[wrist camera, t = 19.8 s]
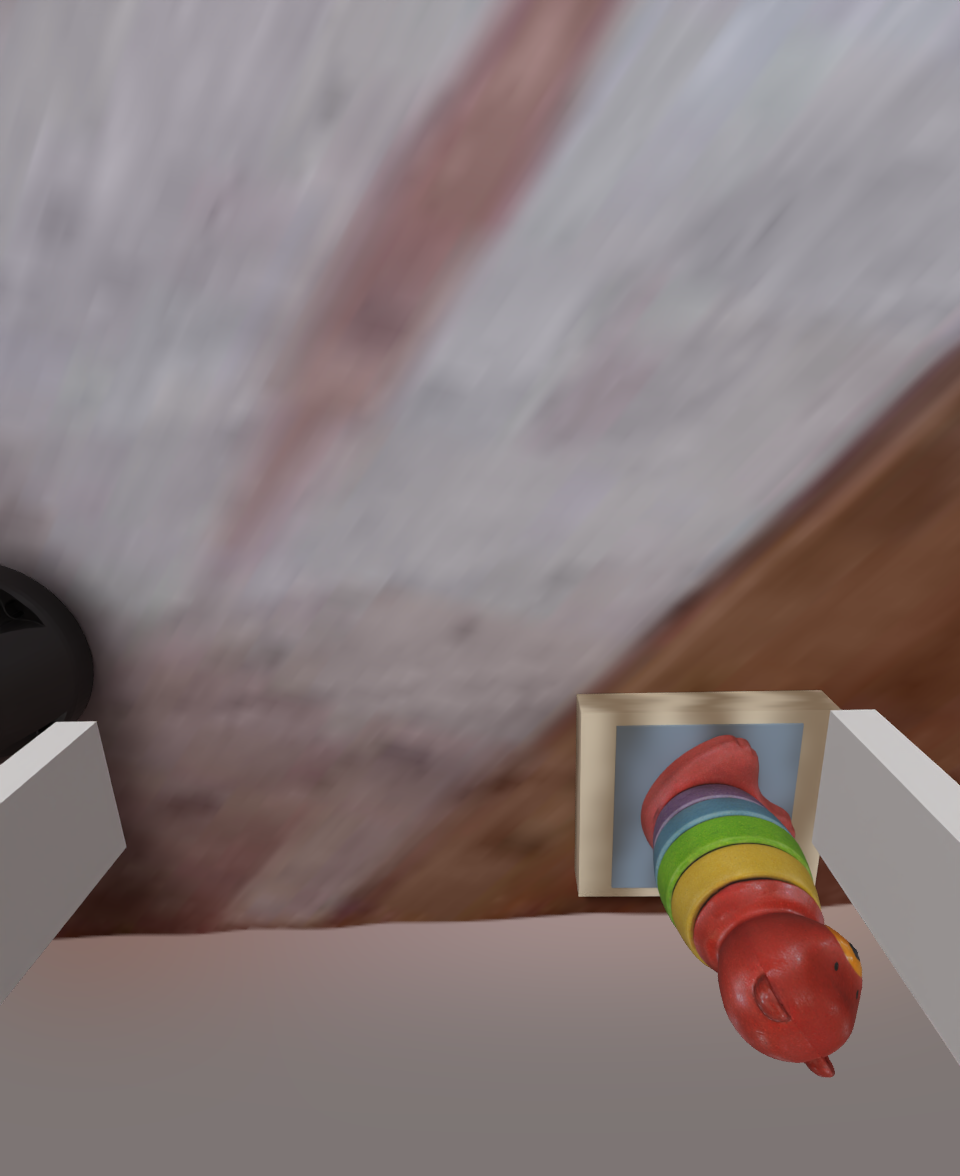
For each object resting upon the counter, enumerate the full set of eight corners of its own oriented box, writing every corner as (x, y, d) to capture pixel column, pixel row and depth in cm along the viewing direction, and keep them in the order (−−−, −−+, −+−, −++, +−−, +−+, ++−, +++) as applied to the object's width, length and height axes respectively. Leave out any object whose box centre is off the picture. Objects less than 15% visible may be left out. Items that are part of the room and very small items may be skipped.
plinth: (574, 869, 55) (578, 898, 52) (576, 694, 50) (581, 714, 47) (796, 868, 54) (814, 897, 51) (821, 690, 49) (842, 711, 46)
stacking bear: (799, 835, 49) (956, 1078, 32) (674, 889, 51) (760, 1145, 34) (740, 723, 46) (876, 922, 29) (610, 783, 48) (669, 1004, 31)
